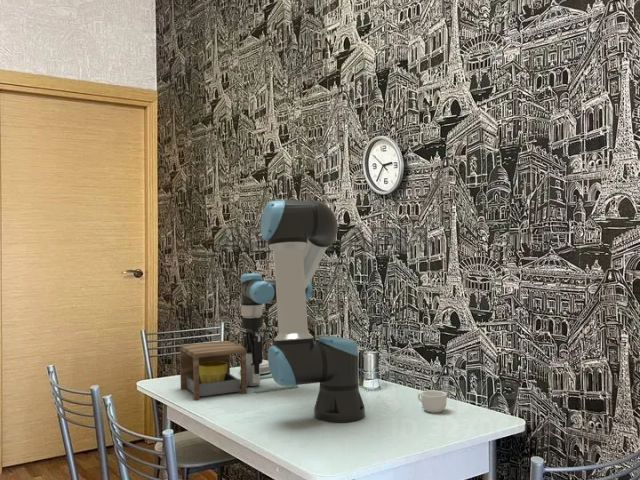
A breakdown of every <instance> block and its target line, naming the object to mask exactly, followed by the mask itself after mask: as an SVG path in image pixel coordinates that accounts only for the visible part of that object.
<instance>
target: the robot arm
mask: <svg viewBox="0 0 640 480" xmlns="http://www.w3.org/2000/svg"><path fill="white" fill-rule="evenodd" d="M262 212H263V213H262V216H261V221H260V233H261V238H262V239H263V240H264V241H267V243H268V248H269V249H270V250H271V251H272V252H273V258H274V260H273V261H274V273H275V274H274V276H275V278H274V280H273V279H272V280H268V279H267V280H263V275H262V274H261V273H258V272H257V273H255V272H253V273H243V274H241V279H240V281H241V282H240V292H241V293H240V295H241V297H240V298H241V300H240V301H241V305H240V306H241V307H240V309H241V316H242V317H241V327H242V328H243V329H245V331H243V332H242V337H243V338H242V339H243V342H242V343H243V346H242V347H244V348H246V353H251V352H252V360H253V363H252V364H251V365H252V383H260V384H261V379H260V376H261V374H260V364H261V363H262V360H263V339H264V337H263V335H260V333H259V332H260V331H259V329H261V328H262V327H264V326H263V325H264V324H263V322H264V320H263V319H264V318H263V310H264V306H263V305H264V304H265V305H266V304H268V303H275V302H276V309H277V311H276V312H277V328H278V329H277V330H278V333H277V335H275V337H274V338H273V345H271V346H269V348H268V350H267V353H268V354H267V360H268V363H269V368H270V372H269V373H270V375H272V377H273V378H272V379H273V381H274V382H275V383H276V384H277V385H278V386H279V387H282V386H295V385H298V386H301V385H311V384H319V389H318V395H317V398H316V401H315V404H314V408H313V417H315V419H317V420H319V421H323V422H328V423H349V422H355V421H358V420H362V419H363V418H364V417H365V416H366V408H365V405H364V402H363V398H362V396H361V392H360V388H359V387H360V386H359V357H360V354H359V347H358V343H357V342H356V341H355V340H354V339H350V338H346V337H339V336H332V335H331V336H327V335H322V336H319V337H318V340H317V341H318V342H315V340H314V336H313V335H312V334H311V333H310V332H309V327H308V313H307V300H309V299H311V297H312V293H313V284H312V282H311V281H312V279H313V277H314V275H315V273H316V271H317V269H318V267H319V265H320V263H321V261H322V259H323V257H324V254H326V253H325V252H326V251H327V248H329V247H331V246H332V245H333V244H334V242H335V240H336V238H337V236H338V235H337V234H338V231H339V230H338V229H339V227H338V225H339V223H338V220H337V217H336V215H335V213H334V211H333V210H332V209H331V208H330V206H328V204H325V203H324V202H322V201H319V200H295V199H293V200H292V199H291V200H289V199H287V200H286V199H282V200H270V201H269V202H268V203H267V204H266V205H265V207H264V209H263V211H262Z"/></svg>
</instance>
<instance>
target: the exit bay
mask: <svg viewBox="0 0 640 480" xmlns="http://www.w3.org/2000/svg"><path fill="white" fill-rule="evenodd" d="M238 379H239V380H240V381H241V378H238ZM264 379H273V377H272V375H271V374H270V375H269V374H268V375H260V380H264ZM297 388H299V385H295V386H275V387H268V388H261V389H254V390H253V393H255V394H261V393H268V392H274V391H275V392H277V391H281V390H282V391H283V390H289V389H290V390H292V389H297Z"/></svg>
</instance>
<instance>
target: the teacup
mask: <svg viewBox="0 0 640 480" xmlns="http://www.w3.org/2000/svg"><path fill="white" fill-rule="evenodd" d="M447 398H448V393H447V392H445V391H442V390H433V389H432V390H431V389H429V390H422V391H421V392H420V393H419V394H418V396H417V399H418V401H419V402H420V403H421V405H422V408H423V409H424V411H425V412H427V413H430V412H431V414H440V413H442V412H443V411H444V410H445V409H446V407H447V403H448V402H447Z"/></svg>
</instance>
